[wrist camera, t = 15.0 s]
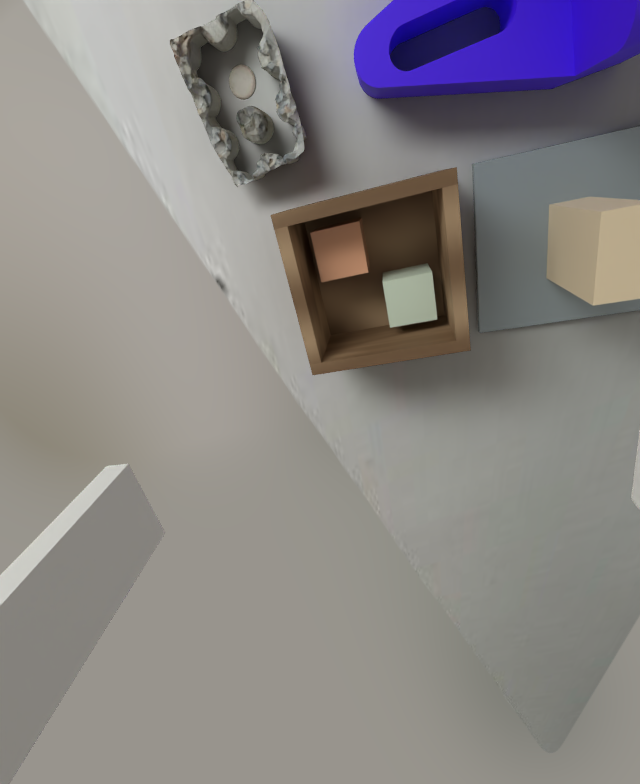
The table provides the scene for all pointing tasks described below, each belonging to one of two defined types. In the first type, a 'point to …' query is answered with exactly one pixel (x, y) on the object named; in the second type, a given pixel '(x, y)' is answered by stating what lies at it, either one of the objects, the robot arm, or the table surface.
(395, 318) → the sage cube
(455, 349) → the box
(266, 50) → the egg carton
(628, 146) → the lid
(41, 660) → the robot arm
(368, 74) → the bracket
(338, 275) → the terracotta cube
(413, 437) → the table surface
